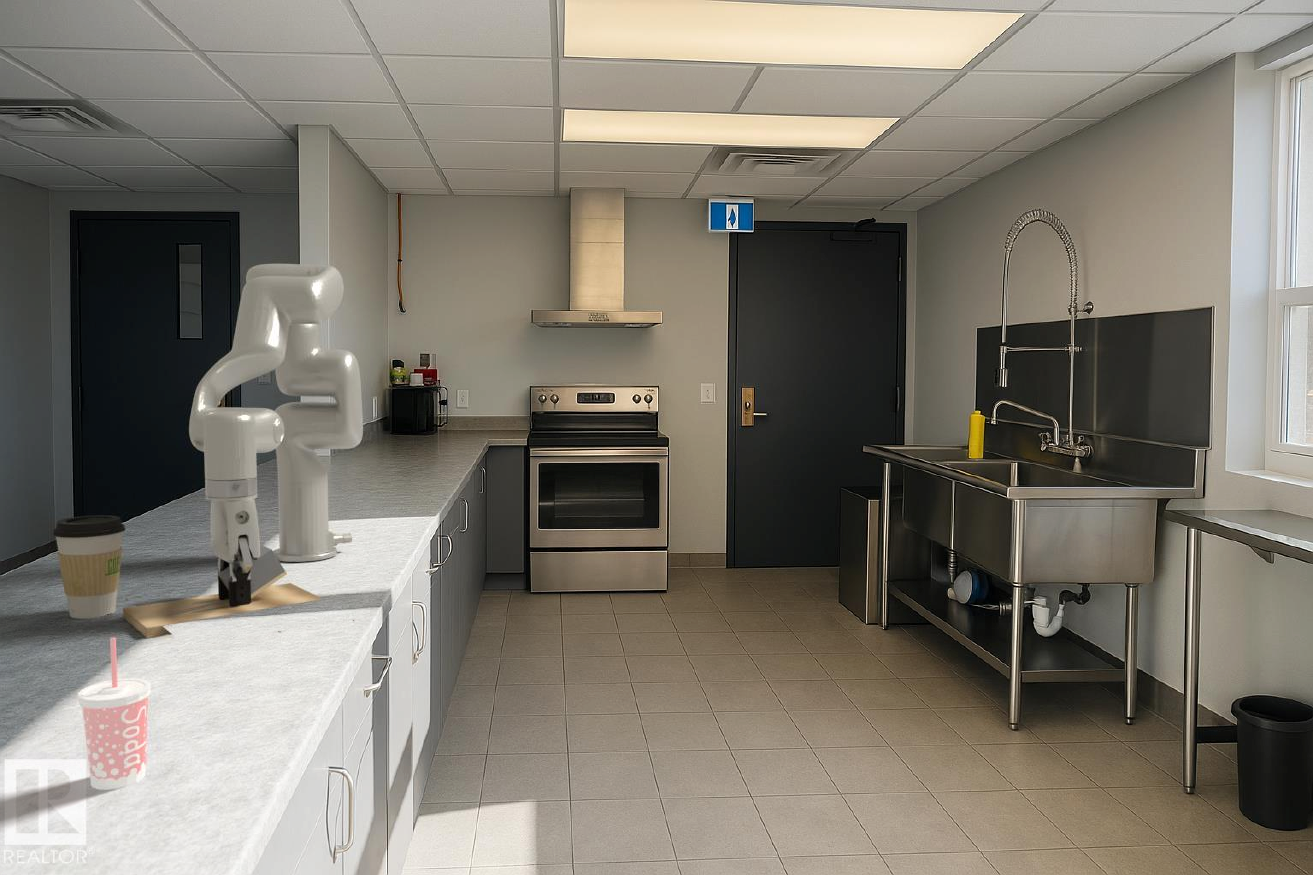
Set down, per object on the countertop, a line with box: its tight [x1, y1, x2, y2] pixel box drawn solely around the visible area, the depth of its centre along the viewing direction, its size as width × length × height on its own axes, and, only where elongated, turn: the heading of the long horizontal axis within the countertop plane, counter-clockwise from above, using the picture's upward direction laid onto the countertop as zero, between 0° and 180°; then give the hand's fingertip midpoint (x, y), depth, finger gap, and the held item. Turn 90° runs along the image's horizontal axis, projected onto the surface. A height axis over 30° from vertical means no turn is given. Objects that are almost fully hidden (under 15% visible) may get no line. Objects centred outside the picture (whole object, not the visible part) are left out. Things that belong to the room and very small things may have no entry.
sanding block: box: [217, 544, 288, 598], centre depth 152 cm, size 8×4×5 cm, turn 131°
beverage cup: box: [77, 636, 152, 791], centre depth 90 cm, size 6×6×14 cm
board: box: [122, 582, 323, 639], centre depth 150 cm, size 26×14×2 cm, turn 132°
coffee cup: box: [52, 514, 126, 620], centre depth 148 cm, size 10×10×15 cm
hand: (234, 600), depth 151 cm, fingers closed on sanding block, 4 cm apart
